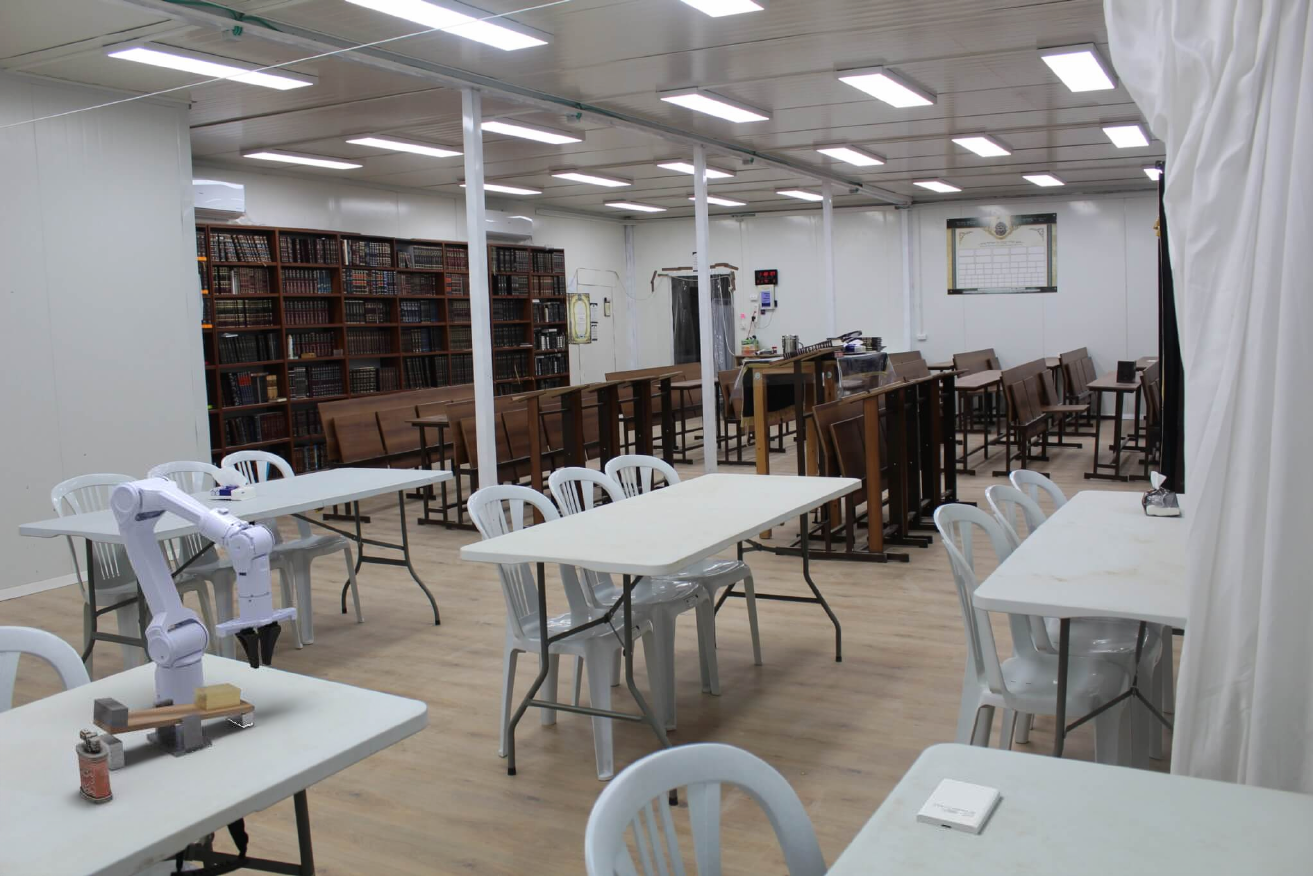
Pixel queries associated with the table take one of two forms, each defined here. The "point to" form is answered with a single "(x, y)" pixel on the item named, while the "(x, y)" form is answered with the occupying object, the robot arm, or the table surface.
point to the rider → (217, 697)
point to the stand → (170, 736)
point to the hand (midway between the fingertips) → (260, 665)
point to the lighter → (93, 768)
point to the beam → (153, 715)
